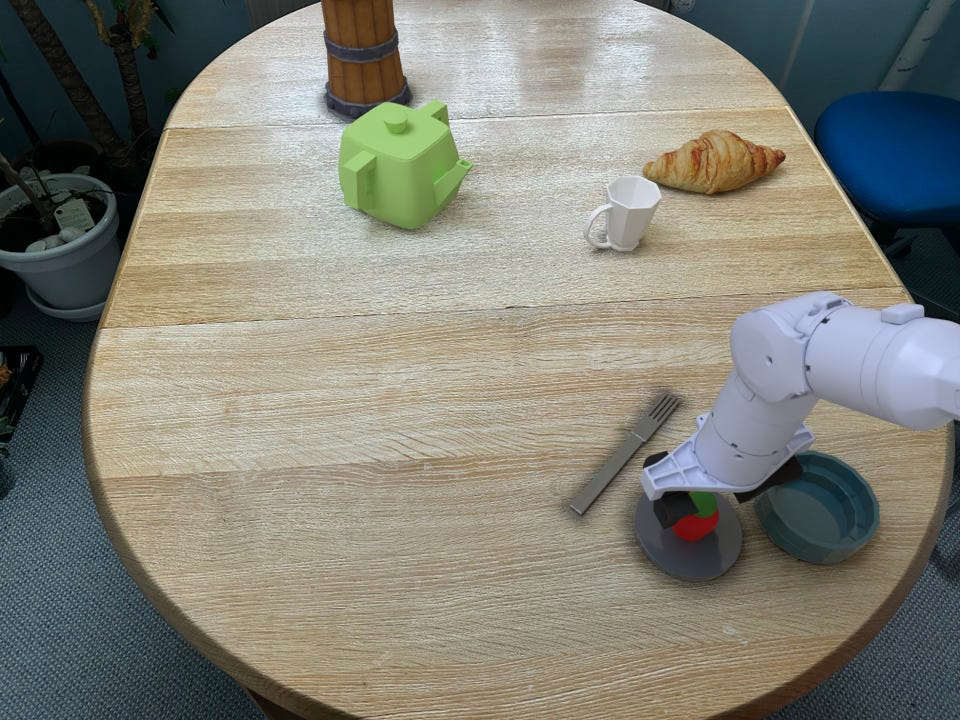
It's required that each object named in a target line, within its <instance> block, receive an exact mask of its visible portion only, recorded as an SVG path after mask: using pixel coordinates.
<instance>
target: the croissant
mask: <svg viewBox="0 0 960 720" xmlns="http://www.w3.org/2000/svg"><path fill="white" fill-rule="evenodd" d="M786 158H787V156H786V154H785V152H784V151H783V150H781V149H775V150H773V149H772V148H771V147H768V146H767V145H762V144H757V145H756V144H755V143H754V142H753V141H751V140H749V139H743V138H741V136H739V135H738V134H736V133H734V132H732V131H731V130H724V129H723V130H722V129H717V128H716V129H711V130H707V131H705V132H703V133H702V134H701V135H700V136H699V137H698V138H695V139H690V140H687V141H685V143H683V144H682V146H680V148H678V149H675V150H674V151H673V150H672V151H669V152H664V153H663V154H661V155H660V156H659V157H657V159H656V161H649V162H647V163H645V164H644V165H643V167H642V169H641V170H642V171H641V172H642V176H643V177H644V178H645V179H647V180H650V181H652V182H654V183H657V184H662V185H663V186H666V187H670V188H676V189H679V190H683V191H687V192H689V191H690V192H695V193H701V194H706V195H712V194H714V193H717V192H729V191H731V190H732V191H733V190H736V189H739V188H741V187H744V186H745V185H747V184H749V183H752V182H754V181H755V180H757V179H760V178H762V177H765V176H768V175H769V174H772V173H773V171H775V170H776V169H777V168H778V167H779V166H780V165H781V164H783V162H785V161H786Z"/></svg>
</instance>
